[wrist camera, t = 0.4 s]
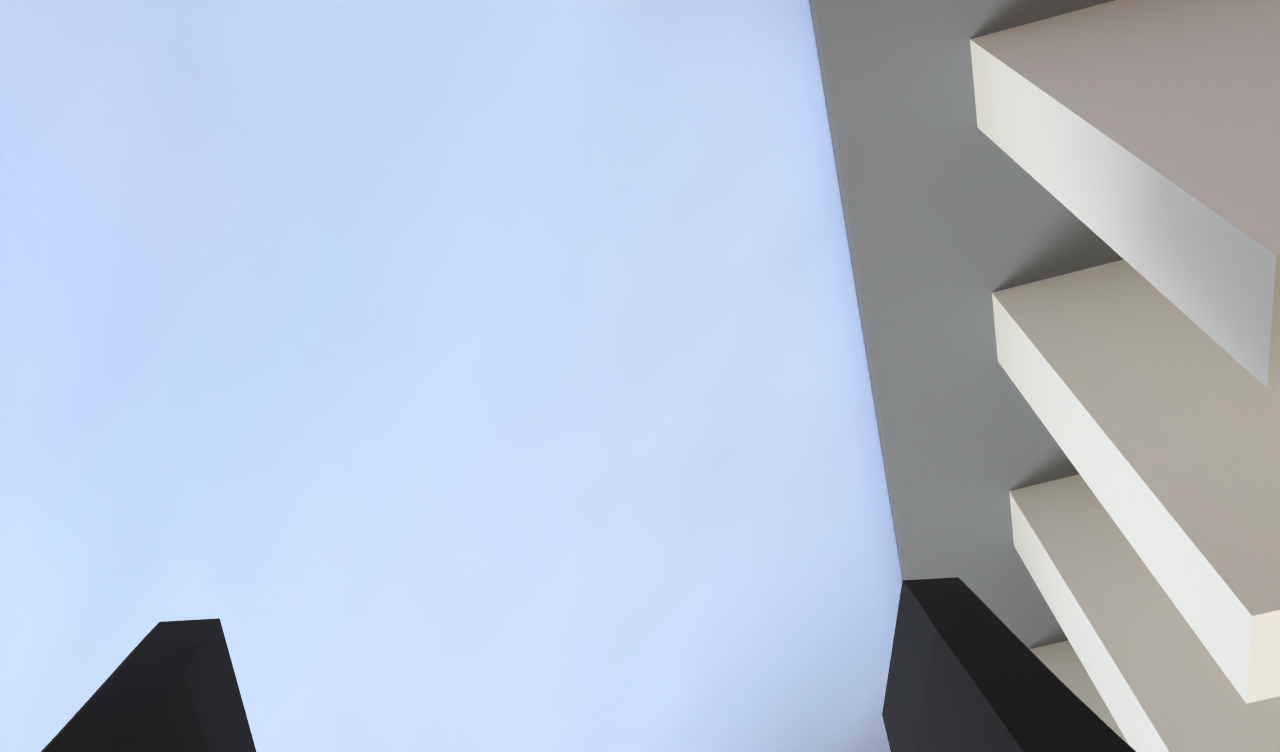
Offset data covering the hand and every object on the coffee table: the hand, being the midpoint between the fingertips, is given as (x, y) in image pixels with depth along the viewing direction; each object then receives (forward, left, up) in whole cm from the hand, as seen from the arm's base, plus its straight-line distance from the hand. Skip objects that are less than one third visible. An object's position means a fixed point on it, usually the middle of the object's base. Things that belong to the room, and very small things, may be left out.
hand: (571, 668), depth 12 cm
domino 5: (+2, -10, -10) cm, 14 cm away
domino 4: (-3, -10, -10) cm, 15 cm away
